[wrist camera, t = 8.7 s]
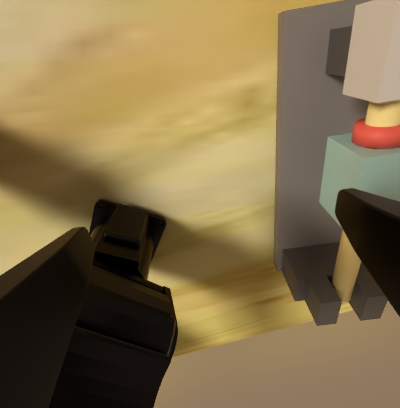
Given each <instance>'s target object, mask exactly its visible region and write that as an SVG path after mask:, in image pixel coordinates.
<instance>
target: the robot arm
mask: <svg viewBox="0 0 400 408" xmlns="http://www.w3.org/2000/svg"><path fill="white" fill-rule="evenodd" d="M99 204H102V205H103V206H104V207H101V206H100V205H99ZM335 215H336V217H337V219H338V221H339V223H340V225H341V227H342V229H343V231H344V233H345V234H346V236H347V238H348V240H349V242H350V244H351V246H352V247H353V249H354V251H355V253H356V254H357V256H358V257H359V259H360V260H361V262H362V263H363V264H364V266H365V267H366V269H367V270H368V272H369V273H370V275H371V276H372V277H373V279H374V280H375V282H376V283H377V285H378V286H379V288H380V289H381V291H382V292H383V293H384V295H385V296H386V298H387V299H388V301H389V302H390V304H391V305H392V306H393V308H394V309H395V311H396V312H397V314H398V315H399V316H400V202H399V201H396V200H392V199H389V198H385V197H382V196H379V195H375V194H372V193H368V192H365V191H361V190H358V189H355V188H348V189H341V190H340V191H339V192H338V195H337V200H336V206H335ZM159 222H163V223H159ZM165 226H166V219H165V218H163V217H160V216H157V215H153V214H150V213H147V212H145V211H141V210H138V209H134V208H131V207H128V206H124V205H119V204H116V203H112V202H109V201H105V200H98V201H97V202H96V204H95V207H94V212H93V217H92V222H91V227H90V232H88V230H87V229H86V228H85V227H77V228H73V229H71V230H69V231H68V232H66V233H65V234H63V235H62V236H60V237H59V238H57V239H56V240H54V241H53V242H51V243H49V244H48V245H46V246H45V247H43V248H42V249H40V250H39V251H37V252H36V253H34V254H33V255H31V256H30V257H28V258H27V259H25V260H23V261H22V262H20V263H19V264H17V265H16V266H14V267H13V268H11V269H10V270H8V271H7V272H5V273H4V274H2V275H1V276H0V408H153V407H154V403H155V399H156V396H157V393H158V390H159V387H160V385H161V382H162V379H163V377H164V375H165V372H166V371H167V369H168V366H169V364H170V362H171V358H172V356H173V353H174V350H175V346H176V342H177V335H178V326H177V320H176V315H175V311H174V306H173V301H172V296H171V291H170V288H167V287H165V286H163V287H162V286H159V285H157V284H155V283H152V282H150V281H148V280H147V279H148V273H149V268H150V264H151V261H152V259H153V256H154V253H155V251H156V248H157V246H158V243H159V241H160V238H161V236H162V233H163V231H164V228H165Z"/></svg>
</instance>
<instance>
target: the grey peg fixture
mask: <svg viewBox="0 0 400 408" xmlns="http://www.w3.org/2000/svg"><path fill="white" fill-rule="evenodd" d="M348 133H352V139H351V141H352V143H354V144H356V145H358V146H361V147H364V148H366V149H368V150H370V151H371V150H377V149H390V148H397V147H400V0H344V1H338V2H332V3H327V4H321V5H316V6H310V7H305V8H299V9H293V10H288V11H284V12H282V13H279V19H278V71H277V122H276V174H275V226H274V264H275V267H276V269H277V271H280V270H282V272H283V274H284V277H285V279H286V281H287V284H288V286H289V288H290V291H291V293H292V295H293V298H294V300H295V301H301V300H305V302H306V304H307V306H308V308H309V310H310V312H311V314H312V316H313V319H314V321H315V323H316V325H317V326H319V325H327V324H336V322H337V318H338V314H339V311H340V307H341V304H346V303H348V302H349V303H350V305H351V306H352V308H353V310H354V311H355V313H356V314H357V316H358V317H359V319H360V320H369V319H378V318H380V317H381V315H382V313H383V310H384V307H385V305H386V303H387V300H388V299H387V298H386V296H385V295H384V293H383V292H382V291H381V289H380V288H379V286H378V285H377V283H376V282H375V280H374V279H373V277H372V276H371V275H370V273H369V272H368V270H367V269H366V267H365V266H364V264H363V263H362V262H361V260H360V259H359V257H358V256H357V254H356V253H355V251H354V249H353V247H352V246H351V244H350V242H349V240H348V238H347V236H346V234H345V233H344V231H343V229H342V228H341V227H340V226H339V225H338V223H337V222H336V221H335V220H334V219H333V218H332V217H331V215H330V214H329V213H328V212H327V211H326V210H325V209H324V207H323V206H322V205H321V204H320V203H319V199H320V192H321V184H322V177H323V169H324V162H325V154H326V147H327V139H328V137H329V136H335V135H342V134H348Z"/></svg>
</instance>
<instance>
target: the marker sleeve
mask: <svg viewBox="0 0 400 408" xmlns="http://www.w3.org/2000/svg"><path fill="white" fill-rule="evenodd" d="M351 139H352V133H348V134H342V135H335V136H329V137H328V139H327V147H326V154H325V162H324V169H323V177H322V184H321V192H320V199H319V203H320V204H321V205H322V206H323V207H324V209H325V210H326V211H327V212H328V213H329V214H330V215H331V217H332V218H333V219H334V220H335V221H336V222H337V223H338V225H339V226H340V227H341V225H340V223H339V221H338V219H337V217H336V215H335V206H336V200H337V195H338V192H339V191H340V190H341V189H348V188H355V189H358V190H361V191H365V192H368V193H372V194H375V195H379V196H382V197H385V198H389V199H392V200H396V201H399V202H400V147H397V148H390V149H377V150H371V151H370V150H368V149H366V148H364V147H361V146H358V145H356V144H354V143H352V141H351ZM341 228H342V227H341Z"/></svg>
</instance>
